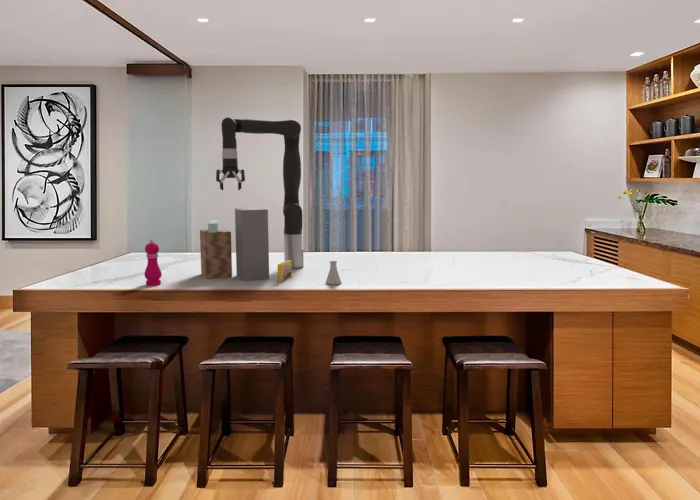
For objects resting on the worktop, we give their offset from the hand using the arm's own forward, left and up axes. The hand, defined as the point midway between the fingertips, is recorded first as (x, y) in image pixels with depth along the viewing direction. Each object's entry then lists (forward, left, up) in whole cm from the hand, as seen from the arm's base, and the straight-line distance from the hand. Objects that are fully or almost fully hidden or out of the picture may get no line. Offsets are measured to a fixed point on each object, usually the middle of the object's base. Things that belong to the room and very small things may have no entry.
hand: (230, 190), depth 332 cm
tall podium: (-3, +33, -40) cm, 52 cm away
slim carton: (+12, +19, -19) cm, 30 cm away
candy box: (-15, +46, -40) cm, 63 cm away
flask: (-32, +65, -40) cm, 83 cm away
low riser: (+12, +21, -40) cm, 47 cm away
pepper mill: (+42, +36, -40) cm, 68 cm away
